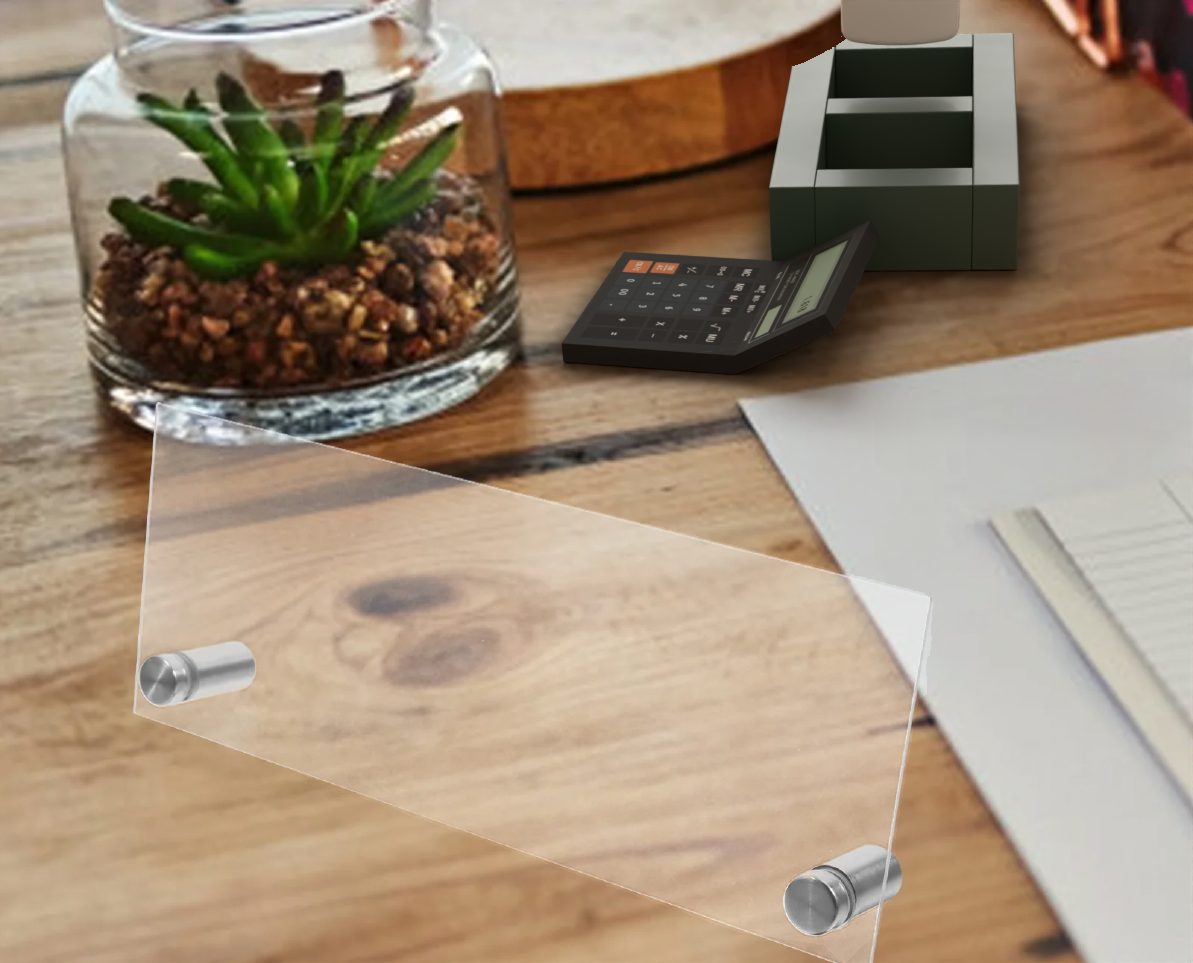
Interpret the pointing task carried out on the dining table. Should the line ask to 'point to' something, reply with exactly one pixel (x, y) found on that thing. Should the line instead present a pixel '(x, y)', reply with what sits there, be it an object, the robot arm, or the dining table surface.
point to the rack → (902, 154)
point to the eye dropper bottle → (899, 21)
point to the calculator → (717, 307)
